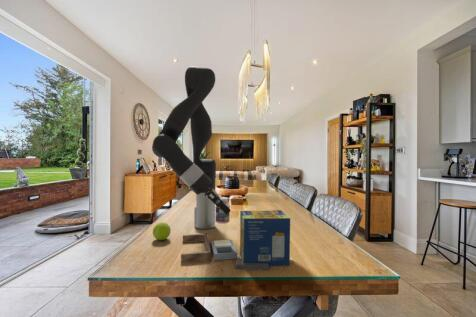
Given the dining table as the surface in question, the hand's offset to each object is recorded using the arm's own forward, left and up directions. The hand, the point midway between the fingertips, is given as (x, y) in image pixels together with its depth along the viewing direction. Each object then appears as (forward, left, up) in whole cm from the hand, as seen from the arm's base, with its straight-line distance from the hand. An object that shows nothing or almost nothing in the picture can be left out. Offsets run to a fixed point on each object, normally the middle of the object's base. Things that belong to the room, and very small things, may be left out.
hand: (227, 210), depth 88 cm
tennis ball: (-29, -3, -15) cm, 32 cm away
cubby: (-10, -6, -14) cm, 19 cm away
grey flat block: (+13, -9, -14) cm, 22 cm away
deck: (0, -3, -14) cm, 15 cm away
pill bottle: (-1, -1, -4) cm, 5 cm away
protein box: (+15, -3, -15) cm, 21 cm away
